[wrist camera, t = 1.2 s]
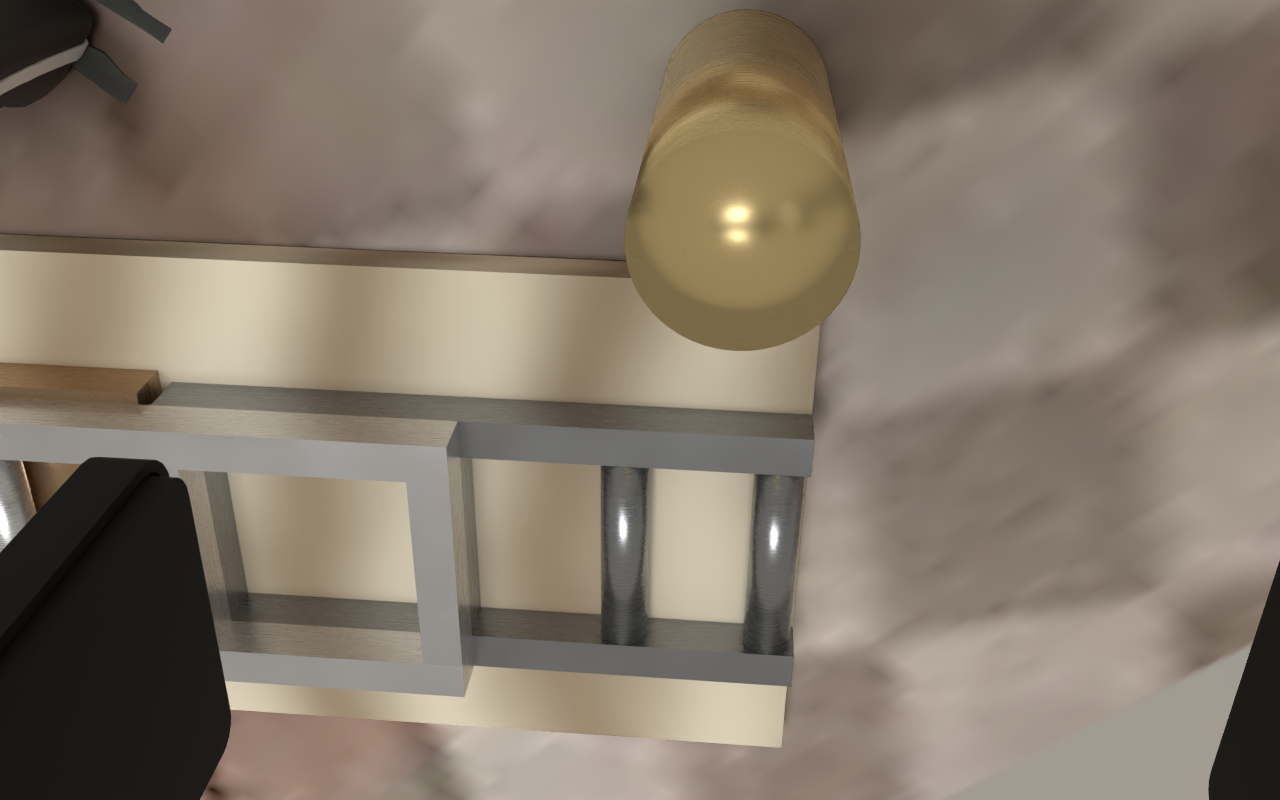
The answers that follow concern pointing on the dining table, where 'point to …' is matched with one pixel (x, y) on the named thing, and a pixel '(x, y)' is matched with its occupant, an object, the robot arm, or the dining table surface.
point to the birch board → (503, 490)
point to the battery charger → (38, 46)
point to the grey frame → (626, 455)
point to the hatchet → (102, 66)
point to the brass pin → (743, 189)
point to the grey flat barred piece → (272, 445)
